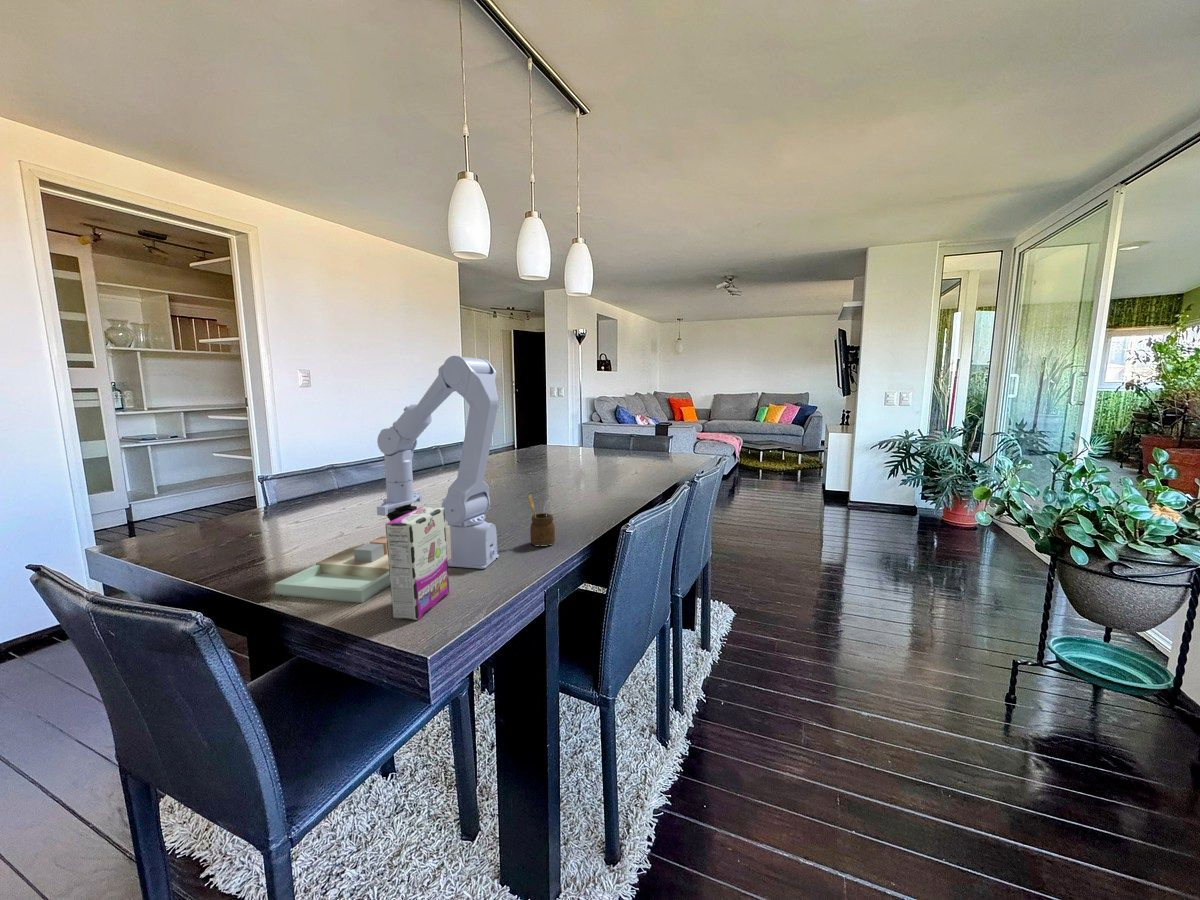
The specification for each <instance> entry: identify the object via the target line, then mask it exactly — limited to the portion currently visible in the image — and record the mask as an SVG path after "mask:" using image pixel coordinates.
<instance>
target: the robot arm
mask: <svg viewBox="0 0 1200 900" xmlns="http://www.w3.org/2000/svg"><path fill="white" fill-rule="evenodd" d="M437 371H438V373H437V374H438V375H437V376H436V378H435V379H434V381H433V382H432V383H431V385H430V386H429V387H428V389H427V390H426V392H425V393H424V394H423V397H421V399H420V400H419V402H418V403H417V404H415V403H414V404H410V405H405V408H403V413H402V414H401V415H400V416H399V418H398V419H397V420H395V421H394V422H393V423H392V425H391V426H390V427H389V428H383V429H381V430H380V432H379V434H378V436H377V439H376V440H377V441H376V442H377V447H378V449H379V450H380V452H382V454H384V455H383V456H384V457H383V458H384V471H385V472H384V474H385V485H386V486H385V490H386V498H384V499H382V503H381V504H379V505H378V506H376V516H384V517H385V516H386V517H387V518H388V519H389V522H390V521H392V520H394V519H397V518H399V517H401V516H403V515H405V514H407V513H409V512H411V511H414V510H416V509H418V507H417V506H415V505H412V504H414V503H417V502H418V503H419V502H422V501H423V493H421V492H414V478H413V458H414V451H415V449H416V448H417V443H418V441H417V440H418V438H419V437H420V435H422V433H423V432H424V431H425V430H426V429H427V428H428V426H430V424H432V421H433V420H432V414H433V413H434V412H435V411H436V410H437V409H438V408H439V407H440V406H441V404H443V403H444V402H445V401H446V400H447V398H449V396H451V394H453V393H454V392H456V393H457V394H458V395H460V396H461V397H462V398H463V399H464V400H465V401H466V402H467V404H468V405H469V409H468V414H467V416H468V417H467V421H466V422H467V423H466V427H465V433H464V438H463V444H462V449H461V455H460V456H461V457H460V461H459V466H458V472H457V477H456V479H455V480H454V481H453V482H452V484H451V485H450V486H449V487H448V488H447V494H446V496H445V497H444V499H442V502H441V506H440V508H444V514H445V522H446V523H447V525H448V526H449V536H450V558H449V559H447V564H448V567H451V568H453V567H454V568H466V569H481V570H482V569H484V570H485V569H486V568H488V566H490V565H491V564H492V563H493V562H494V561H495V560H497V559H498V558H499V557H500V555H499V554H498V534H497V533H498V531H497V527H496V524H495V523H491V522H487V521H485V519H486V513H488V511H489V510H490V508H491V499H490V498H491V497H490V486H489V484H487V483H486V481H485V477H486V471H487V464H488V461H489V454H490V450H491V444H492V438H493V435H494V434H493V432H494V429H495V423H496V418H497V413H498V407H499V396H498V392H497V391H498V390H497V385H496V379H497V371H496V369H495V368H494V367H493V365H492V363H491V362H490V361H489V360H487V359H485V358H483V357H478V358H477V357H465V356H460V355H450V356H449V357H447V358H446V359H445V361H444V362H443V364H442V365H441V366H439V368H438V370H437ZM496 558H497V559H496Z"/></svg>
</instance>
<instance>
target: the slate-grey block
mask: <svg viewBox="0 0 1200 900" xmlns="http://www.w3.org/2000/svg"><path fill="white" fill-rule="evenodd" d="M363 544H364V545H362V546H360V547H358V548H356V549H354V560H355V561H359V562H374V561H375V560H377V559H379V558H381V557H383V556H384V546H383V544H370V543H363Z"/></svg>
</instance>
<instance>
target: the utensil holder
mask: <svg viewBox="0 0 1200 900" xmlns="http://www.w3.org/2000/svg"><path fill="white" fill-rule="evenodd" d="M527 498H528V501H529V505H530V508H531V509H532V513H533V515H532V516H531V523H530V528H529V531H530V532H529V533H530V534H529V535H530V536H529V537H530V544H531V545H532V544H533V545H539V546H541V545H549V544H553V543H554V542H555V543H556V528H555V527H556V526H555V523H554V516H553V512H554V507H555V506H554V505H555V503H554V502H553V500H551V499H548V500H546V501H545V502H544V503H545V504H544V506H543V510H548V506H546V505H547V504H549V502H550V506H549V507H552V509H551V510H549V513H548V512H543V513H542V512H540V513H536V511H535V504H534V500H533V497H532V494H529V495H528V496H527ZM552 503H553V505H552ZM545 507H546V508H545ZM555 543H554V544H555ZM554 544H553V545H554ZM533 545H532V546H533Z"/></svg>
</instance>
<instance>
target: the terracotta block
mask: <svg viewBox="0 0 1200 900" xmlns="http://www.w3.org/2000/svg"><path fill="white" fill-rule="evenodd" d="M369 544H383V546H384V554H388V550H387V537H386V536H380V537H379V536H378V537H377V538H375V539H373V540H371V541H369Z"/></svg>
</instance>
